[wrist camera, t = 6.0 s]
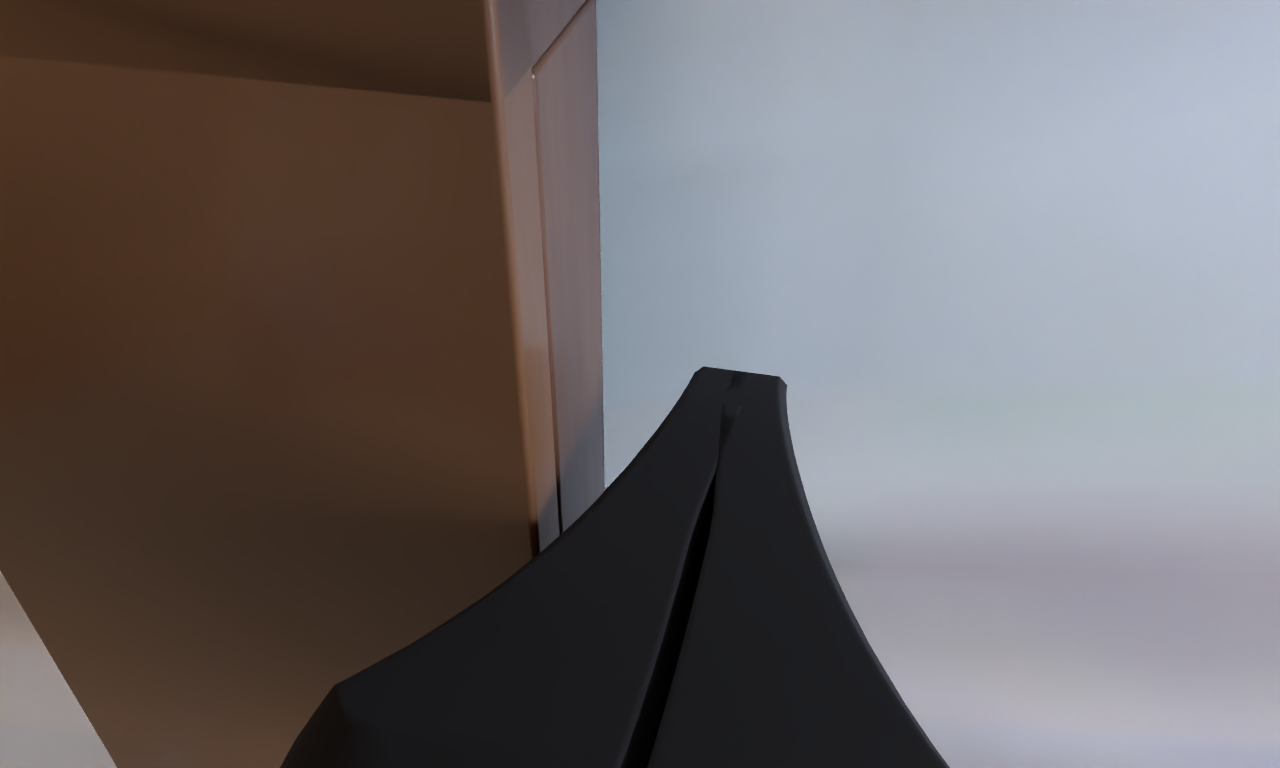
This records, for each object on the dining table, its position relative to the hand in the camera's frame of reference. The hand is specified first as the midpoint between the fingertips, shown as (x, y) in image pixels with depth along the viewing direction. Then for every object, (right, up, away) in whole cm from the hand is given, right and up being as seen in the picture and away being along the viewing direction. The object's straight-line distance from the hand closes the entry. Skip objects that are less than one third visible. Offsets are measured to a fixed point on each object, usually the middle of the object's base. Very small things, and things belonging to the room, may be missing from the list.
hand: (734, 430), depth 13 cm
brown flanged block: (-5, +2, +2) cm, 5 cm away
